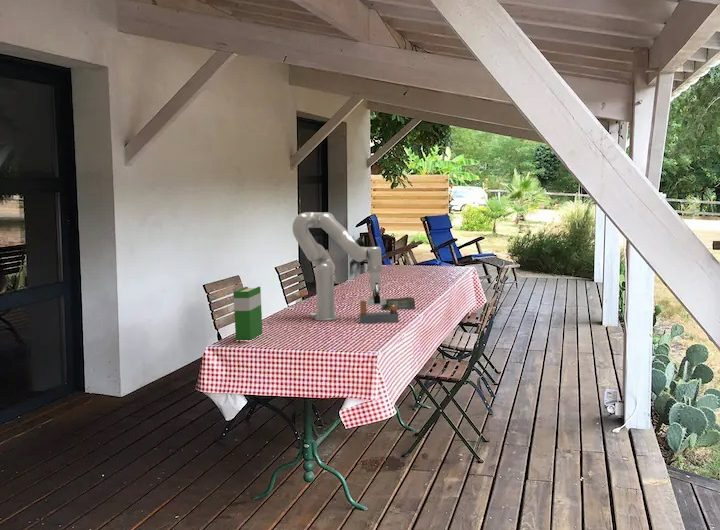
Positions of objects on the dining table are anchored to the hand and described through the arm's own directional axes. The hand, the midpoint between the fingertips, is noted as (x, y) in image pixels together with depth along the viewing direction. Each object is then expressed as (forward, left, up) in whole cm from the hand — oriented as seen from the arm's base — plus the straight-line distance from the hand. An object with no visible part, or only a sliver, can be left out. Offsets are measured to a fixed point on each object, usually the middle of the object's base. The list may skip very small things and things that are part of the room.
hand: (376, 302), depth 387 cm
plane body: (0, -11, -9) cm, 14 cm away
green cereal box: (-66, -38, -9) cm, 77 cm away
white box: (0, 0, -1) cm, 1 cm away
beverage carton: (+16, +28, -9) cm, 33 cm away
